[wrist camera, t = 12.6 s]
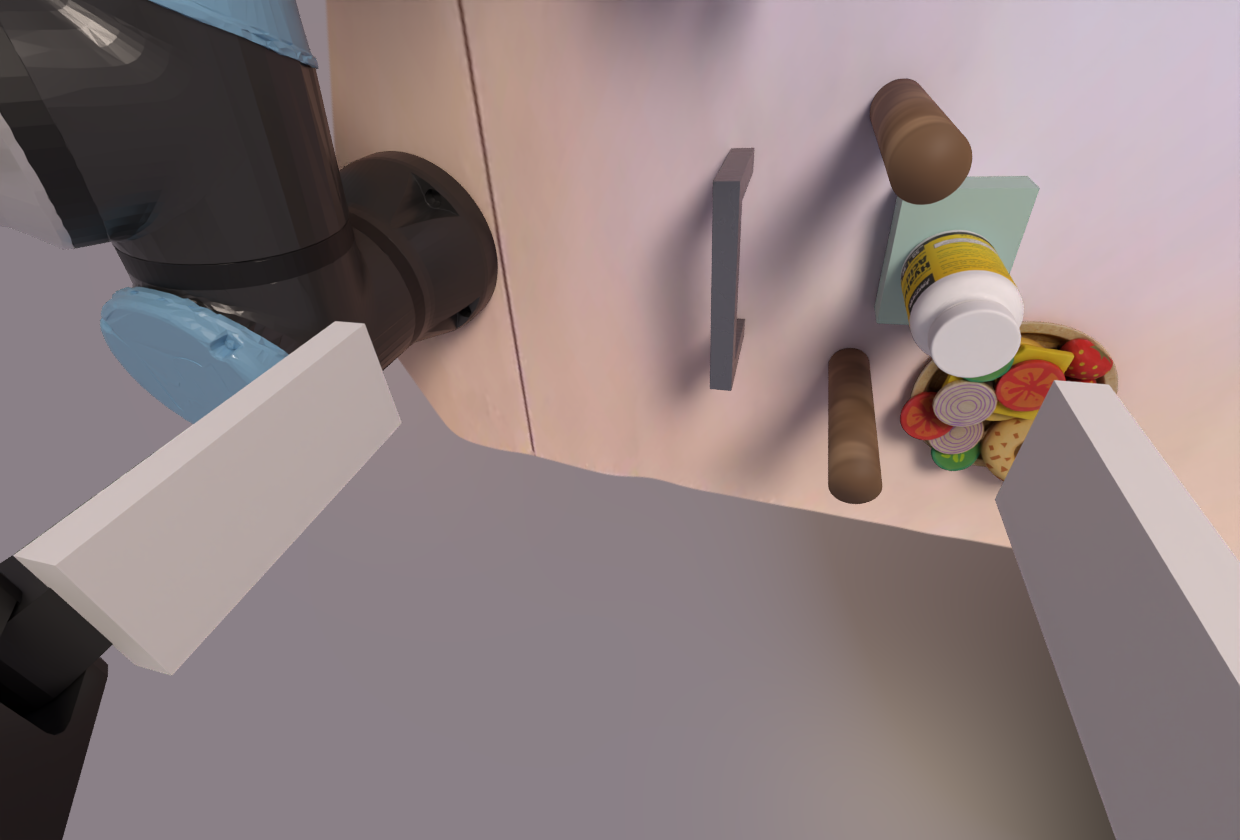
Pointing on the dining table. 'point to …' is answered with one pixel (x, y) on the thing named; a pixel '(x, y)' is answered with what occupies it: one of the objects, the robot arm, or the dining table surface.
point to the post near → (918, 143)
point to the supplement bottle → (962, 303)
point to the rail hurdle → (727, 266)
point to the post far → (852, 429)
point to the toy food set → (1000, 398)
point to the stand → (973, 207)
